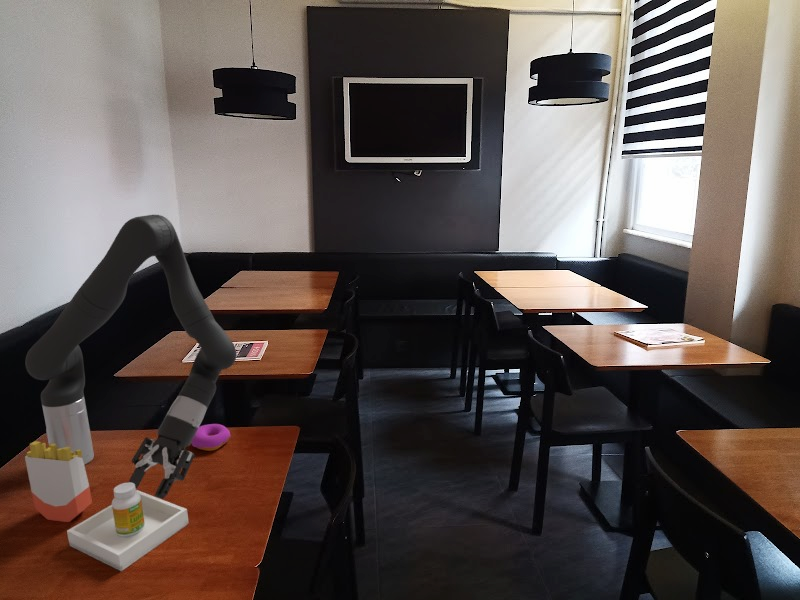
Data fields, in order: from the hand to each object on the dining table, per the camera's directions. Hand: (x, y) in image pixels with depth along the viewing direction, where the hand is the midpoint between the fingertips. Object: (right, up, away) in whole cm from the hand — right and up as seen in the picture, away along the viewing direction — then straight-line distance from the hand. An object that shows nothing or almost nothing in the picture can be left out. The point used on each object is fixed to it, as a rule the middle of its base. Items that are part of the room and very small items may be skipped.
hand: (145, 492), depth 117 cm
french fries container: (-20, -7, +5) cm, 21 cm away
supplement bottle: (-2, -7, -2) cm, 8 cm away
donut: (+2, +1, +35) cm, 35 cm away
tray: (-2, -8, -2) cm, 9 cm away
